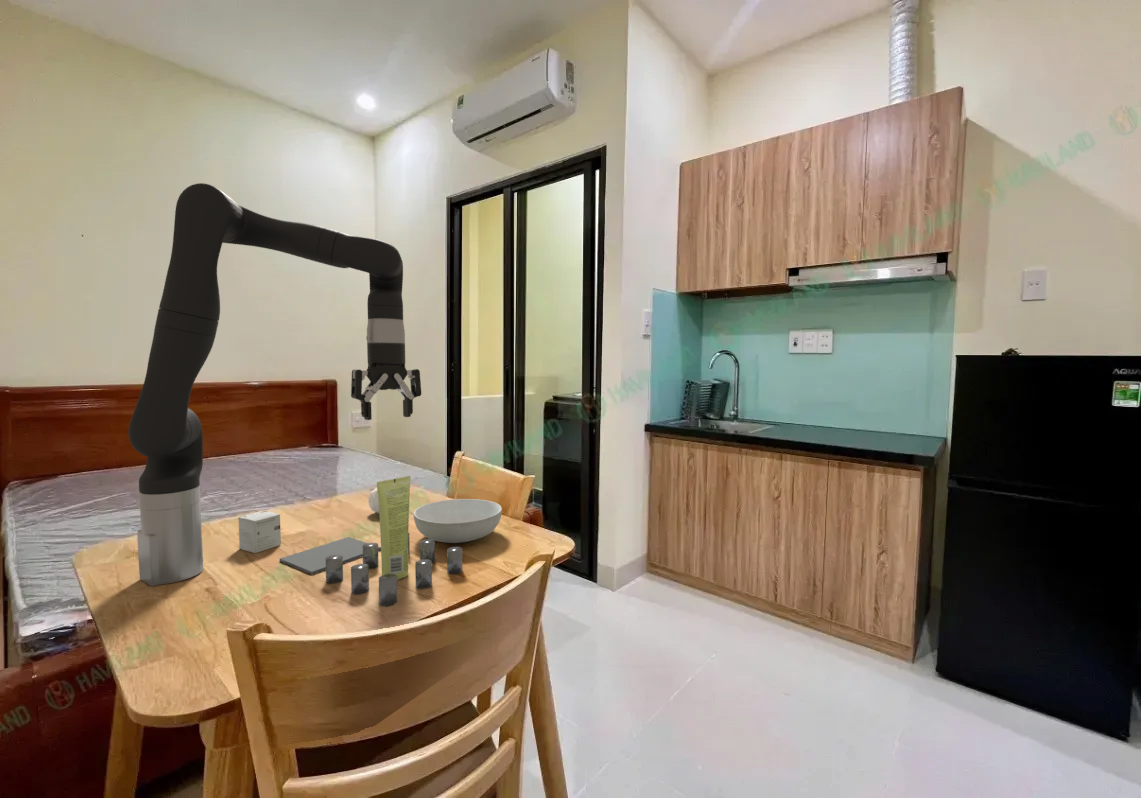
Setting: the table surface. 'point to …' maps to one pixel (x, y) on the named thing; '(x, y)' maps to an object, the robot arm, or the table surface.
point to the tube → (394, 525)
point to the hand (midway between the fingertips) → (388, 418)
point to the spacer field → (390, 580)
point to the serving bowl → (457, 519)
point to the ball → (374, 501)
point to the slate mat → (325, 555)
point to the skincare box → (259, 531)
